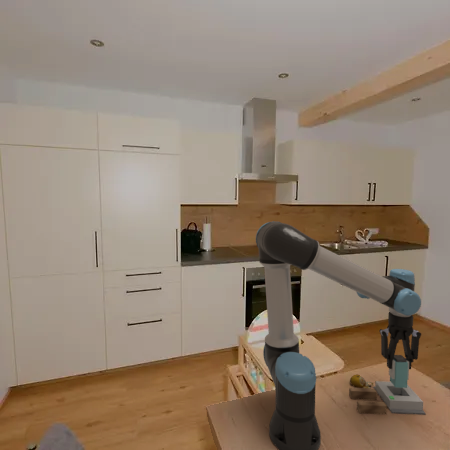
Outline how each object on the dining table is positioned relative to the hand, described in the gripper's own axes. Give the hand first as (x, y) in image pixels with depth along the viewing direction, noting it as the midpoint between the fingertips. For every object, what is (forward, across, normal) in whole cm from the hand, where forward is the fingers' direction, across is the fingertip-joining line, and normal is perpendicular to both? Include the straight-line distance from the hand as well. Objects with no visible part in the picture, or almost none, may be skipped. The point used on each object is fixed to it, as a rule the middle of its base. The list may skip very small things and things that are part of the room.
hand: (398, 377), depth 104 cm
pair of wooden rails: (+9, -12, -3) cm, 15 cm away
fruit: (+9, -9, +7) cm, 15 cm away
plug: (+3, 0, 0) cm, 3 cm away
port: (+9, 0, 0) cm, 9 cm away
